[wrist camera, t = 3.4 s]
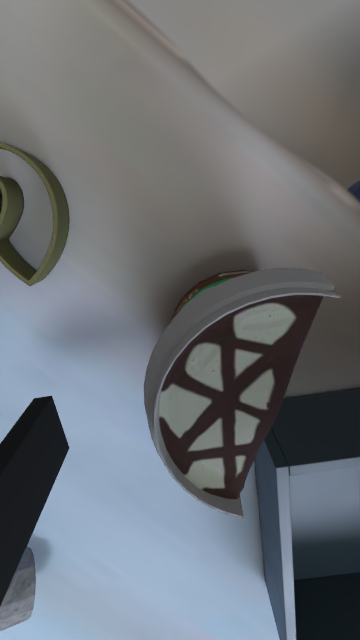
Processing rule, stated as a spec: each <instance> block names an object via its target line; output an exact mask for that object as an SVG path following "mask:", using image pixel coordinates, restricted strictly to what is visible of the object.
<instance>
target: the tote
mask: <svg viewBox="0 0 360 640" xmlns="http://www.w3.org/2000/svg"><path fill="white" fill-rule="evenodd" d="M254 461H255V472H256V483H257V494H258V505H259V516H260V527H261V538H262V549H263V560H264V571H265V582H266V586H267V590H268V594H269V598H270V602H271V606H272V610H273V614H274V618H275V622H276V626H277V630H278V634H279V638H280V640H360V388H355V389H348V390H341V391H334V392H327V393H320V394H313V395H306V396H299V397H292V398H285V399H283V401H282V404H281V407H280V410H279V412H278V415H277V417H276V419H275V421H274V423H273V425H272V426H271V428H270V430H269V432H268V434H267V436H266V437H265V439H264V441H263V443H262V444H261V446H260V448H259V450H258V452H257V454H256V456H255V458H254Z"/></svg>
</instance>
